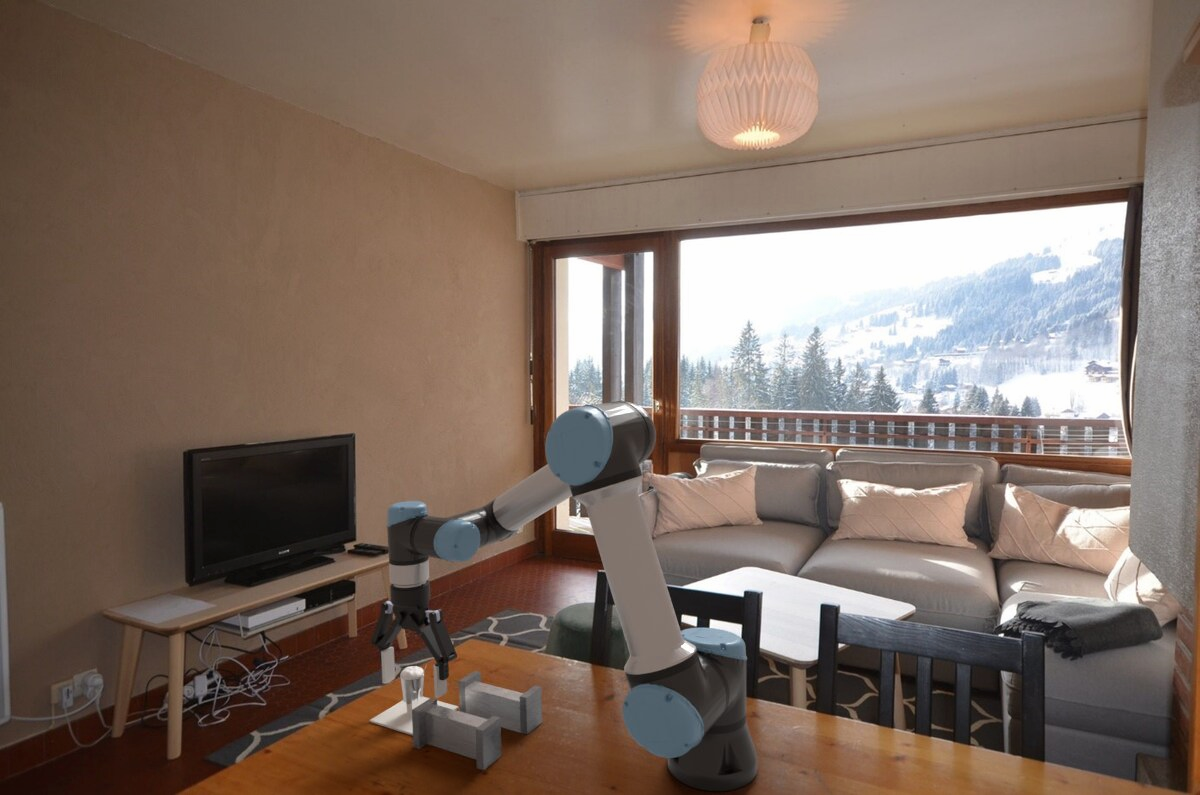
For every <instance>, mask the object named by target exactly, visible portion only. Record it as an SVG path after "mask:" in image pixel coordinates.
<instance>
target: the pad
mask: <svg viewBox="0 0 1200 795" xmlns="http://www.w3.org/2000/svg"><path fill="white" fill-rule="evenodd" d="M428 699H430V697H426V696H423V702H422V703H424V702H425V701H427V700H428ZM437 705H439V706H442V707H446V708H449V709H453V710H456V711H458V710H460V705H459V706H458V705H456V704H455V705H454V704H451V703H449V702H448V703H447V702H444V701H440V700H437ZM369 722H370V723H371V724H375V725H378V726H381V727H385V728H388V729H390V730H394V731H398V732H400V733H404V734H407V735H410V736H413V727H412V717H408V716H406V715H405V709H404V700H403V699H402V700H401V701H399V702H397V703H396V704H394V705H393V706H390V708H387V709H385V710H384V711H382V712H381V713H379V714H378V715H375V716H374V717H372V718H371V719H369Z"/></svg>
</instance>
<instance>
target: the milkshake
mask: <svg viewBox="0 0 1200 795" xmlns="http://www.w3.org/2000/svg"><path fill="white" fill-rule="evenodd" d="M427 666H428V664H426V665H425V667H424V669H423V668H422V667H421V666H417V665H413V666H412V665H411V666H406V667H405V668H403V670H401V672H400V674H399V675H400V677H399V678H400V685H401V690H402V700H404V709H405V715H406V716H408V717H412V709H414V708H416V707H417V706H419V705H420V704H422V702H423V697H424V696H423V694H424V682H425V681H424V678H425V670H426V668H427Z"/></svg>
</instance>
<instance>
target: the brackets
mask: <svg viewBox="0 0 1200 795" xmlns="http://www.w3.org/2000/svg"><path fill="white" fill-rule="evenodd" d="M458 694H459V710H453V709H449V708H446V707H442V706H439V705H437V701H438V699H437V698H433V697H431V698H430V697H429V698H430V699H428V700H427V701H425V702H424V703H422V704H420V705H419V706H417V707H416V708H414V709H412V727H413V735H412V745H413V748H414V749H417V750H421V749H422V748H424V747H425V746H427V745H430V746H433V747H435V748H439V749H441V750H445V751H448V752H451V753H455V754H458V755H461V756H462V757H463V756H464V757H466V758H470V759H472V760H476V769H479V770H482V771H485V770H486V769H487V768H490V767H489V766H491V765H492V764H493V763H495V762H496V761H497V760H498V759H500V758H501V757H502V735H501V734H502V733H501V732H502V731H501V730H502V729H507V730H509V731H512V732H513V731H514V732H517V733H520V734H524V735H529V734H530V733H531V732H532V731H534V730H535V729H536V728H538V726H539V725H541V724H542V723H543V708H542V707H543V706H542V704H543V703H542V686H538V685H535V684H534V685H533V686H532V687H530V688H529V689H528V690H526V691H525V692H520V691H516V690H512V689H507V688H504V687H500V686H496V685H494V684H493V685H492V684H489V683H484V682H482V672H481V671H479V670H474V671H472V672H470V673H469V674H467V675H465V676H464V677H463V678H461V679H459V680H458Z"/></svg>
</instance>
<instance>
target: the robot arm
mask: <svg viewBox="0 0 1200 795" xmlns="http://www.w3.org/2000/svg"><path fill="white" fill-rule="evenodd" d="M656 441H657V430H656V426H655V423H654V421H653V418H652V416H651V415H650V414H649V413H648V412H647V411H646V410H645V409H644V408H643V407H641V406H640V405H638V404H637V403H633V402H630V401H626V400H625V401H624V400H615V401H610V402H604V403H594V404H584V405H580V406H577V407H574V408H570V409H568V410H566V411H564V412H562V413H560V414H559V415H558V416H557V417H556V418H555V419H554V421H553V422H552V424H551V426H550V428H549V431H548V432H547V434H546V439H545V444H544V446H545V448H544V449H545V458H546V463H547V464H546V465H544V466H543V467H541V468H539V469H538V470H536V471H534V473H533V472H532V474H530V475H529V476H527V477H526V478H524V479H523V480H521V481H519V482H518V483H516V484H515V485H514V486H512V487H510V488H509V489H508V490H506V491H505V492H503V493H502V494H500V495H499V496H497V497H496V498H494V499H493V500H491V501H490V502H488V503H486V504H485V505H483V506H481V507H478V508H475V509H471V510H468V511H464V512H461V513H458V514H454V515H450V516H447V517H439V516H432V515H428V514H429V512H428V508H427V504H426V503H425V502H422V501H419V500H407V501H400V502H396V503H393V504H391V505H389V507H388V509H387V514H386V515H387V517H386V520H387V521H386V522H387V523H386V529H387V547H388V566H389V568H388V570H389V571H388V572H389V573H388V574H389V583H390V586H389V591H390V595H389V596H390V599H389V600H386V601H384V602H382V603H380V614H379V616H378V619H377V622H376V625H375V629H374V631H373V633H372V637H371V640H370V645H371V646H372V647H373V646H374V647H375V646H376V648H377V650H378V651H379V653H378V654H379V664H380V666H381V680H382V682H381V683H382V685H383V684H385V685H386V684H387V683H390V682H392V681H393V680H395V679H396V669H395V647H394V646H393V643H394V642H393V641H394V640H395V639H396V638H397V636H398V635H399V634H400V632H401V631H402V630H409V631H411V632H415V633H416V635H418V636H420V638H421V639H422V640H423V642H424V644H425V646H426V647H427V649H428V651H429V652H430V653H431V655H432V657H433V659H434V660H435V663H433V666H432V667H433V685H434V686H433V687H434V688H433V689H434V690H433V691H434V692H433V693H434V699H439V698H441V697H443V696H444V695H445V694H447V693H448V678H449V676H450V670H449V669H450V668H449V664H450V662H452V661H454V660H456V659H457V657H458V654H457V652H456V649H455V646H454V644H453V642H452V639H451V636H450V634H449V632H448V629H447V627H446V624H445V622H444V615H443V610H442V609H441V608H438V609H436V610H431V609H430V608H429V607H430V606H429V601H430V600H431V583H430V581H429V579H430V559H429V558H432V559H433V558H434V559H440V560H443V561H446V562H451V563H452V562H453V563H454V562H458V563H464V562H467V561H470V560H471V559H473V556H474V555H476V554H477V552H479V549H481V548H483V547H485V546H486V547H487V546H490V545H492V544H495V543H497V542H503V541H505V540H507V539H510V537H512V536H514V535H516V533H517V532H518V531H519V529H520V528H522V527H524V526H526V525H527V524H529V523H531V521H533V520H535V519H536V518H538V517H540V516H541V515H543V514H545V513H546V512H548V511H550V510H551V509H553V508H555V507H556V506H558V505H560V504H561V503H563V502H565V501H566V500H568V499H569V498H571V497H572V499H574V501H576V502H579V503H581V504H582V505H583V506H584V507H585V510H586V512H587V513H586V514H587V516H588V519H589V523H590V526H591V530H592V533H593V535H594V539H595V542H596V546H597V550H598V554H599V555H600V559H601V562H602V565H603V569H604V573H605V575H606V578H607V583H608V585H609V589H610V592H611V596H612V599H613V602H614V605H615V609H616V612H617V615H618V619H619V622H620V625H621V629H622V633H623V636H624V639H625V642H626V645H627V649H628V652H629V657H628V659H627V661H626V662H625V665H624V667H623V668H624V674H625V678H626V680H627V684H628V687H629V689H630V690H629V691H627V693H626V695H625V698H624V702H623V703H622V712H621V713H622V718H623V722H624V725H625V727H626V730H627V731H628V733H629V735H630V737H632V739H633V741H635V742H636V743H637V744H638V745H639V746H640V748H641V747H642V748H644V749H646V750H647V752H648V753H650V754H652V755H653V756H656V757H659V758H664V759H665V758H666V759H667V768H668V770H669V771H670V772H669V773H670V774H671V775H672V776H673V777H674V778H675V779H677V780H678V781H679V782H681V783H683V784H684V785H687V786H689V787H691V788H694V789H698V790H701V791H708V792H709V791H710V792H726V791H727V792H728V791H733V790H736V789H740V788H742V787H745V786H747V785H748V784H749V783H751V782H752V781H753V780H754V779H755V777H756V775H757V773H758V755H757V751H756V748H755V745H754V742H753V740H752V736H751V733H750V730H749V727H748V724H747V660H748V656H747V654H746V653H747V650H746V648H747V647H746V643H745V641H744V639H743V638H742V637H740V636H739V635H737V634H736V633H734V632H731V631H728V630H725V629H720V628H714V627H713V628H712V627H691V628H685V629H682V630H681V628H680V625H679V621H678V618H677V615H676V612H675V609H674V605H673V602H672V598H671V596H670V592H669V590H668V585H667V582H666V579H665V576H664V572H663V570H662V567H661V563H660V560H659V556H658V553H657V551H656V547H655V544H654V541H653V537H652V534H651V531H650V530H651V529H650V527H649V525H648V521H647V517H646V515H645V511H644V508H643V505H642V501H641V498H640V495H639V492H638V489H639V486H640V484H641V482H642V480H643V478H644V476H643V472H642V470H641V466H640V465H641V464H643V463H644V462H646V460H647V459H648V458H649V457H650V455H651V454H652V452H653V450H654V449H655V445H656ZM393 614H394V617H395V618H394V619H393V620H392V618H393ZM391 620H392V622H391ZM389 626H390V627H389Z"/></svg>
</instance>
